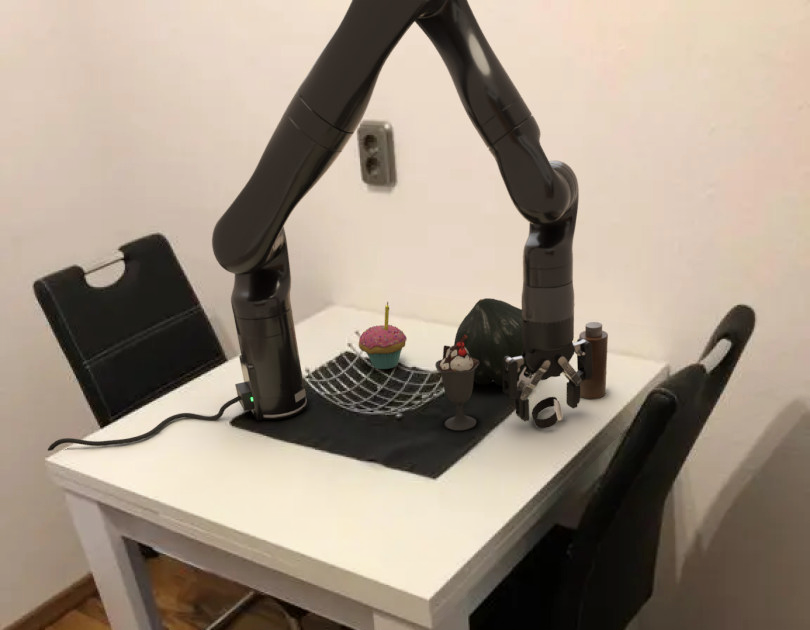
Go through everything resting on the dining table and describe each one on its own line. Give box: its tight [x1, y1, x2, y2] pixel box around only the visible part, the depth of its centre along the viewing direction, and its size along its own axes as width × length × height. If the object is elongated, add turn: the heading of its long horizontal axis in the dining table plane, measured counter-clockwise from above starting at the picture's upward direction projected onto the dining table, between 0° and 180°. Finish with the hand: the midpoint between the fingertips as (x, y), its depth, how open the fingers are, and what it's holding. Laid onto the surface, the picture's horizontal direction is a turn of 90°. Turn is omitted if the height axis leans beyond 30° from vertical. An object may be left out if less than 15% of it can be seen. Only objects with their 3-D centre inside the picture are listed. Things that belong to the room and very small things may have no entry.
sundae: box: [434, 335, 480, 432], centre depth 139 cm, size 7×7×15 cm
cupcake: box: [358, 301, 407, 370], centre depth 162 cm, size 9×8×12 cm
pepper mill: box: [578, 321, 609, 400], centre depth 145 cm, size 4×4×12 cm
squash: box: [453, 297, 525, 387], centre depth 153 cm, size 14×15×15 cm
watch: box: [531, 396, 564, 429], centre depth 140 cm, size 8×5×4 cm, turn 167°
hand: (547, 412), depth 140 cm, fingers open, 8 cm apart
